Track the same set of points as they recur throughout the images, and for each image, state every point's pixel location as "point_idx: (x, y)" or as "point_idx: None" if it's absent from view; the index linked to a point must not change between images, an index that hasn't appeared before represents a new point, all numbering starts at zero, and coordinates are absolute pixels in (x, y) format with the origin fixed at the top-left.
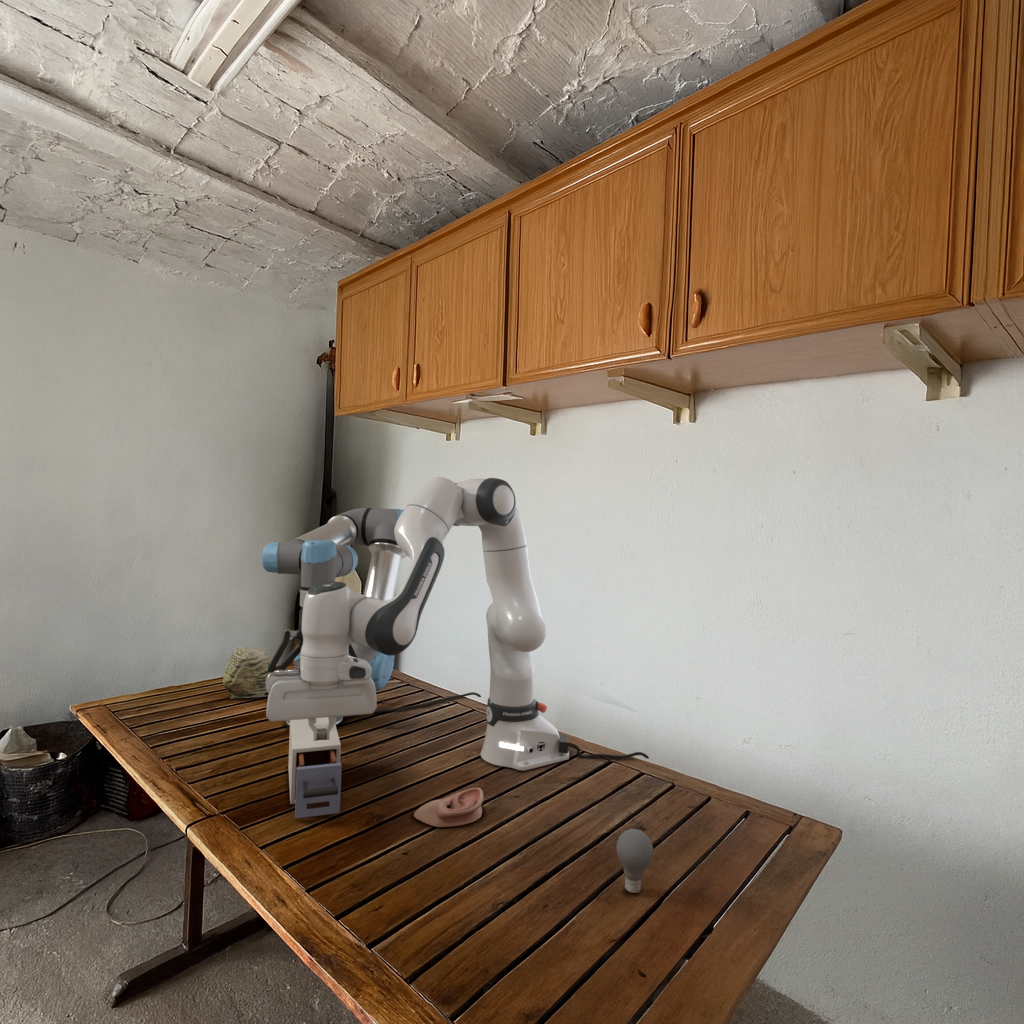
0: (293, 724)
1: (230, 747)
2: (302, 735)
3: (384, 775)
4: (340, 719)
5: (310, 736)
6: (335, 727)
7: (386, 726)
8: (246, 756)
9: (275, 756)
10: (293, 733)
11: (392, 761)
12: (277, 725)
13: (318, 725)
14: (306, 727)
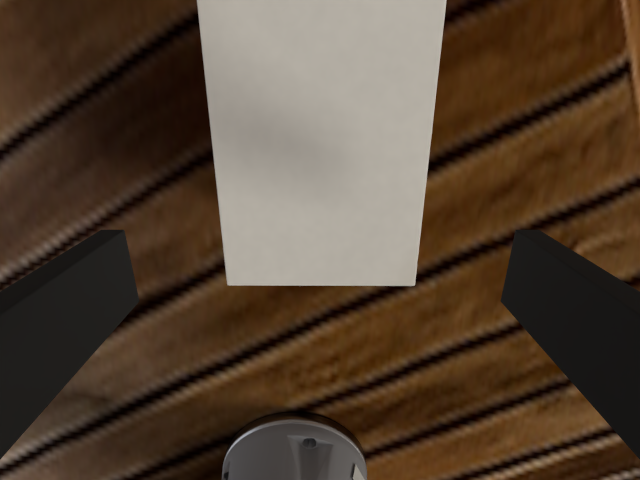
0: (410, 210)
1: (507, 371)
2: (386, 34)
3: (96, 82)
4: (228, 452)
5: (346, 3)
6: (212, 118)
7: (110, 410)
8: (478, 311)
9: (406, 295)
10: (427, 80)
11: (77, 182)
12: (383, 464)
13: (296, 167)
14: (355, 153)
